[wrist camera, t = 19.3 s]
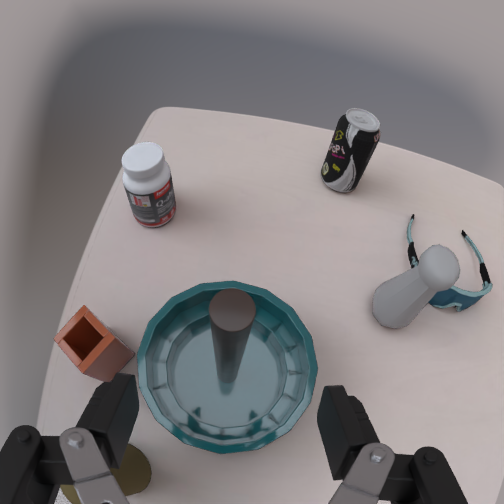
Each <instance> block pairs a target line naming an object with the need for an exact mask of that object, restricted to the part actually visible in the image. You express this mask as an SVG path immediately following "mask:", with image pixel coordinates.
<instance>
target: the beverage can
mask: <svg viewBox="0 0 504 504" xmlns="http://www.w3.org/2000/svg"><path fill="white" fill-rule="evenodd" d="M379 127H380V122H379V120H378V119H377V118H376V117H375V116H374V115H373V114H371V113H370V112H368V111H366V110H363V109H359V108H352V109H349V110H348V111H347V113H346V114H345V115H343V116H342V117H341V118H340V119H339V121H338V124H337V127H336V130H335V133H334V135H333V138H332V141H331V144H330V147H329V150H328V153H327V156H326V158H325V161H324V164H323V167H322V170H321V177H322V179H323V181H324V182H325V184H326V185H327V186H329V187H330V188H332V189H334V190H336V191H339V192H350V191H352V190H354V189H355V188H356V186H357V185H358V183H359V181H360V179H361V177H362V175H363V173H364V170H365V168H366V166H367V164H368V162H369V160H370V158H371V156H372V154H373V152H374V150H375V148H376V146H377V144H378V141H379V139H380V130H379Z"/></svg>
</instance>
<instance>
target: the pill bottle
mask: <svg viewBox="0 0 504 504" xmlns="http://www.w3.org/2000/svg"><path fill="white" fill-rule="evenodd" d="M122 165H123V168H124V173H123V184H124V187H125V190H126V193H127V196H128V200H129V202H130V206H131V209H132V211H133V214H134V217H135V219H136V220H137V221H138V222H139V223H140V224H141V225H143V226H146V227H158V226H161V225H164V224H165V223H167V222H168V221H169V220H170V219H171V218H172V217H173V215H174V213H175V210H176V202H175V196H174V190H173V183H172V177H171V171H170V167H169V165H168V163H167V162H166V161H165V157H164V153H163V150H162V148H161V147H160V146H159V145H158V144H156V143H153V142H142V143H138V144H136V145H134V146H132V147H130V148H129V149H128V150H127V151H126V152H125V153H124V155H123V157H122Z"/></svg>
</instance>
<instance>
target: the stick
mask: <svg viewBox="0 0 504 504" xmlns="http://www.w3.org/2000/svg"><path fill="white" fill-rule="evenodd" d="M255 314H256V307H255V303H254V301H253V299H252V298H251V296H250V295H249V294H247V293H246V292H245V291H243V290H240V289H236V288H228V289H224V290H222V291H220V292H218V293H217V294H216V295H215V296H214V297H213V298H212V300H211V302H210V305H209V316H210V324H211V332H212V339H213V347H214V354H215V362H216V369H217V375H218V378H219V379H220V380H221V381H222V382H224V383H230V382H232V381H234V380H235V379H236V377H237V374H238V370H239V367H240V364H241V361H242V358H243V354H244V351H245V348H246V345H247V341H248V338H249V335H250V331H251V328H252V325H253V322H254V318H255Z"/></svg>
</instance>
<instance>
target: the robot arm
mask: <svg viewBox="0 0 504 504" xmlns="http://www.w3.org/2000/svg"><path fill="white" fill-rule="evenodd" d="M138 411H139V399H138V392H137V386H136V380H135V376H134V375H132V374H125V373H119V372H117V373H116V374H115V376H114V378H113V380H112V382H111V383H110V382H104V383H102V384H101V385H100V386H99V387H97V388H96V390H95V392H94V394H93V395H92V398H91V399H90V401H89V404H88V405H87V406H86V408H85V410H84V412H83V414H82V416H81V418H80V419H79V421H78V423H77V425H76V427H74V428H69V429H67V430H65V431H64V432H63V433H62V434H61V436H41V435H40V433H39V431H38V430H37V429H36V428H34V427H32V426H29V425H23V426H19V427H17V428H15V429H14V430H13V431H12V432H11V434H10V435H9V437H8V439H7V440H6V442H5V444H4V446H3V447H2V449H1V451H0V504H54V503H55V500H56V497H57V494H58V491H59V488H60V485H74V488H75V490H76V492H77V495H78V497H79V499H80V502H81V504H130V503H129V502H128V500H127V498H126V497H125V495H124V493H123V492H122V490H121V488H120V486H119V485H118V483H117V481H116V479H115V477H114V476H113V474H112V472H110V468H115V469H120V465H121V462H122V459H123V456H124V453H125V450H126V447H127V444H128V441H129V438H130V436H131V433H132V430H133V427H134V424H135V421H136V418H137V415H138ZM317 423H318V427H319V430H320V434H321V438H322V441H323V445H324V448H325V452H326V455H327V459H328V462H329V466H330V470H331V473H332V477H333V480H343V482H342V483H341V484H340V486H339V487H338V489H337V491H336V492H335V494H334V495H333V497H332V498H331V500H330V501H329V503H328V504H377V502H378V500H386V501H390V502H391V504H468V502H467V500H466V498H465V496H464V494H463V492H462V490H461V488H460V486H459V484H458V482H457V480H456V478H455V476H454V474H453V472H452V470H451V468H450V466H449V464H448V462H447V460H446V458H445V456H444V455H443V453H442V452H441V451H440V450H438V449H436V448H434V447H422V448H420V449H418V450H417V451H416V453H415V454H414V455H404V454H395V453H394V452H393V450H392V449H391V448H390V447H388V446H387V445H385V444H382V443H380V441H379V439H378V437H377V435H376V432H375V430H374V428H373V426H372V424H371V422H370V420H369V417H368V415H367V413H366V412H365V409H364V407H363V405H362V403H361V402H360V401H359V400H358V399H357V398H356V397H355V396H348V395H347V393H346V391H345V388H344V386H343V385H335V386H325V387H324V390H323V394H322V397H321V401H320V405H319V409H318V413H317Z"/></svg>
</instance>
